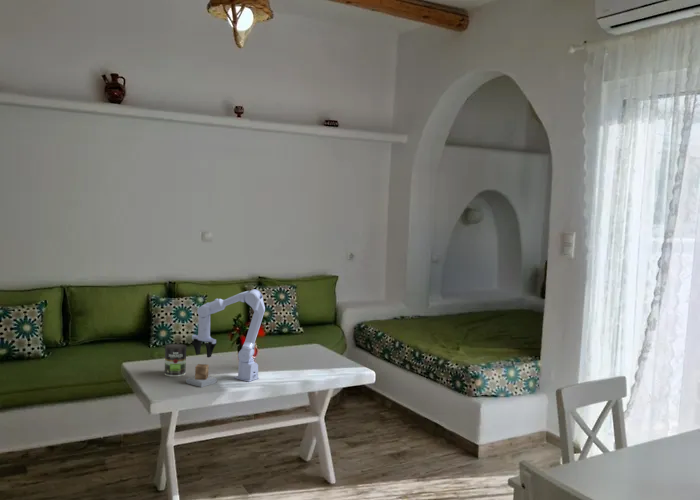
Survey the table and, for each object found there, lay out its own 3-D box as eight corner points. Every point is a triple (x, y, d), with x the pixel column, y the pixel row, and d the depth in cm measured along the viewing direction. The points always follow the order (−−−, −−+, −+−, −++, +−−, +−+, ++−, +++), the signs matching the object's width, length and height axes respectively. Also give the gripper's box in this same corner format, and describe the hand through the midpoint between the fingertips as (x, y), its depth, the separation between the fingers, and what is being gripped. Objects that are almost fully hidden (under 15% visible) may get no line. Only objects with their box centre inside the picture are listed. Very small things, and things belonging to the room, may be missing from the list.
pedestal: (216, 382, 293) (216, 377, 293) (201, 387, 284) (201, 382, 284) (201, 378, 298) (201, 373, 298) (186, 383, 289) (186, 378, 289)
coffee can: (185, 376, 300) (186, 348, 298) (164, 377, 297) (164, 348, 296) (185, 370, 309) (186, 343, 308) (164, 371, 307) (165, 343, 305)
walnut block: (208, 376, 294) (208, 364, 293) (205, 379, 289) (205, 367, 288) (197, 376, 294) (198, 364, 293) (195, 379, 289) (195, 366, 288)
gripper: (220, 329, 301) (220, 356, 302) (199, 325, 308) (198, 351, 309) (210, 332, 294) (209, 359, 296) (189, 327, 302) (188, 354, 303)
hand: (203, 355), depth 302 cm, fingers open, 7 cm apart
